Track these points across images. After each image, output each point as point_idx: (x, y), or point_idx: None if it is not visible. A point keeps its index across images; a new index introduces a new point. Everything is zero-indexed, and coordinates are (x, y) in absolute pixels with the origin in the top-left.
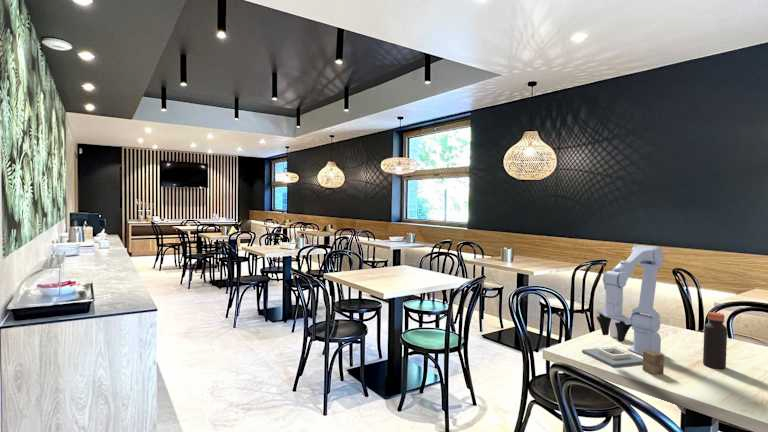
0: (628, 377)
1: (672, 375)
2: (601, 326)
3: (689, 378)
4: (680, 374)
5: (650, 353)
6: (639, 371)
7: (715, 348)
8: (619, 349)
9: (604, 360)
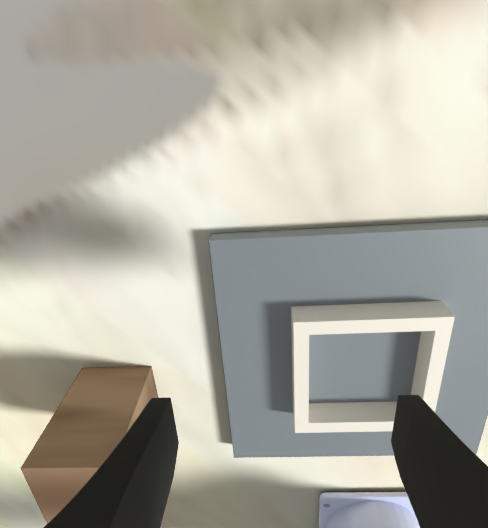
0: (34, 205)
1: None
2: (483, 488)
3: None
4: None
5: (64, 475)
6: (130, 336)
7: None
8: None
9: (290, 236)
